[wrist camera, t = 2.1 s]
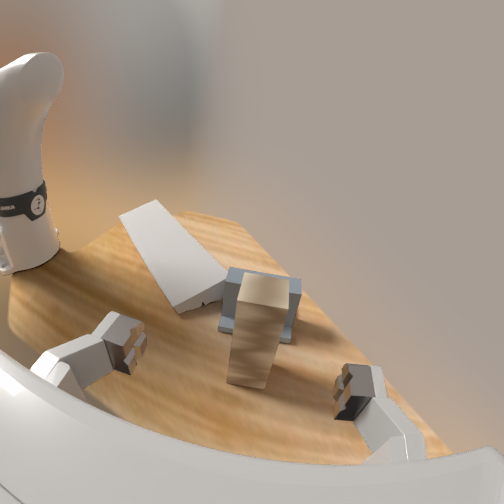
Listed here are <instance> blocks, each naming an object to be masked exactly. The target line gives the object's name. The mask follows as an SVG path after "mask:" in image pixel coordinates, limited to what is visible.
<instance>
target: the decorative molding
mask: <svg viewBox="0 0 504 504" xmlns="http://www.w3.org/2000/svg"><path fill="white" fill-rule="evenodd" d="M119 218H120V219H121V221H122V223H123V225H124V227H125V229H126V231H127V232H128V234H129V236H130V238H131V239H132V241H133V243H134V245H135V247H136V248H137V250H138V252H139V253H140V255H141V257H142V259H143V260H144V262H145V264H146V265H147V267H148V269H149V270H150V272H151V274H152V275H153V277H154V278H155V280H156V282H157V283H158V285H159V286H160V288H161V290H162V291H163V293H164V294H165V296H166V297H167V299H168V301H169V302H170V304H171V305H172V307H173V308H174V309H175V310H176V312H177V313H178V314H180V313H183V312H185V311H187V310H188V311H190V310H193V309H196V308H199V307H201V306H202V302H204V304H205V305H207V304H208V303H210V302H213V301H220V300H223V295H224V285H225V279H226V276H227V274H228V271H227V270H226V269H225V268H224V267H223V266H222V265H221V264H220V263H219V262H218V261H216V260H215V259H214V258H213V257H212V256H211V255H210V254H209V253H208V252H207V251H206V250H205V249H204V248H203V247H202V246H201V245H200V244H199V243H198V242H197V241H196V240H195V239H194V238H193V237H192V236H191V235H190V234H189V233H188V232H187V231H186V230H185V229H184V228H183V227H182V225H181V224H180V223H179V222H178V221H177V220H176V219H175V218H174V217H173V216H172V215H171V214H170V213H168V211H167V210H166V209H165V208H164V207H163V206H162V205H161V204H160V203H159V202H158V201H157V200H154V201H152V202H149V203H147V204H145V205H142V206H140V207H138V208H136V209H134V210H131V211H129V212H127V213H125V214H122V215H120V216H119Z"/></svg>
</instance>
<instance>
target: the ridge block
mask: <svg viewBox="0 0 504 504" xmlns="http://www.w3.org/2000/svg"><path fill="white" fill-rule="evenodd" d="M244 272H247V273H253V274H258V275H264V276H270V277H275V278H281V279H287V280H289V307H288V313H287V316H286V320H285V323H284V327H283V330H282V334H281V337H280V340H279V342H283V343H289V344H290V341H291V332H292V325H293V321H294V318H295V315H296V312H297V308H298V305H299V302H300V298H301V295H302V293H301V279H295V278H290V277H284V276H279V275H273V274H267V273H261V272H256V271H250V270H245V269H239V268H233V267H230V268H229V271H228V274H227V276H226V279H225V285H224V295H223V306H222V316H221V319H220V322H219V326H218V331H220V332H225V333H231V334H233V328H234V320H235V312H236V304H237V298H238V295H239V291H240V287H241V283H242V280H243V276H244Z"/></svg>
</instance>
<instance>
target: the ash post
mask: <svg viewBox="0 0 504 504" xmlns="http://www.w3.org/2000/svg"><path fill="white" fill-rule="evenodd" d="M288 307H289V280H287V279H281V278H275V277H270V276H264V275H258V274H253V273H247V272H244V276H243V280H242V283H241V287H240V291H239V295H238V298H237V304H236V312H235V320H234V328H233V336H232V343H231V351H230V359H229V368H228V376H227V383H229V384H235V385H240V386H246V387H252V388H258V389H265V386H266V383H267V380H268V377H269V374H270V370H271V367H272V364H273V361H274V357H275V354H276V351H277V347H278V344H279V340H280V337H281V334H282V330H283V327H284V323H285V320H286V316H287V313H288Z"/></svg>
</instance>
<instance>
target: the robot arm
mask: <svg viewBox="0 0 504 504" xmlns="http://www.w3.org/2000/svg"><path fill="white" fill-rule="evenodd" d="M63 80H64V69H63V66H62V63H61V61H60V60H59V58H58V57H56V56H55V55H54V54H52V53H48V52H40V53H32V54H28V55H25V56H23V57H21V58H19V59H17V60H15V61H14V62H12V63H10V64H8V65H7V66H5V67H3V68H1V69H0V273H1V274H2V275H4V276H5V275H9V274H11V273H14V272H16V271H21V270H26V269H30V268H34V267H36V266H39V265H41V264H43V263H45V262H46V261H48V260H49V259H51V258H52V257H53V256H54V255H55V254H56V253H57V251H58V250H59V248H60V241H59V239H58V229H56V228H55V226H54V223H53V219H52V215H51V211H50V207H49V204H48V202H47V201H46V200H47V193H46V191H47V189H46V186H45V181H44V180H43V175H42V161H41V141H42V133H43V128H44V123H45V120H46V116H47V113H48V110H49V108H50V105H51V104H52V102H53V101H54V99H55V98H56V97H57V95H58V94H59V92H60V90H61V87H62V84H63ZM144 329H145V326H144V322H142V321H140V320H137V319H134V318H131V317H128V316H125V315H122V314H119V313H116V312H113V311H111V312H109V313H108V314H107V315H106V317H105V318H104V319H103V320H102V322H101V323H100V324H99V325H98V326H97V328H96V329H95V330H94V331H93V333H92V334H91V335H90V334H86V335H84V336H82V337H79V338H77V339H74V340H72V341H69V342H67V343H64V344H62V345H59V346H57V347H54V348H52V349H49V350H47V351H45V352H44V353H43V354H42V355H41V357H40V358H39V359H38V360H37V362H36V363H35V364H34V365H33V366H32V368H31V369H30V370H29V369H27V368H26V367H24V366H23V365H21V364H20V363H18V362H17V361H16V360H14V359H13V358H11V357H10V356H9V355H7V354H6V353H5V352H3V351H2V350H1V349H0V504H504V455H503V454H501V453H500V452H499V451H498V450H497V449H496V448H494V447H492V446H485V447H481V448H478V449H474V450H470V451H466V452H463V453H457V454H453V455H448V456H443V457H437V458H431V459H427V453H426V447H425V442H424V436H423V433H422V432H421V431H420V430H419V429H418V428H417V427H416V425H415V424H414V423H413V422H412V421H411V420H410V419H409V418H408V417H407V415H406V414H405V413H404V412H403V411H402V410H401V409H400V408H399V407H398V405H397V404H396V403H395V402H394V401H393V400H392V399H391V398H388V396H387V391H386V386H385V381H384V376H383V372H382V368H381V367H380V366H368V365H359V364H348V363H346V364H345V365H344V366H343V368H342V374H341V375H339V376H338V377H337V379H336V381H335V384H334V389H333V398H334V399H335V400H336V401H337V402H336V403H335V405H334V420H344V421H353V423H354V425H355V426H356V428H357V429H358V431H359V433H360V434H361V436H362V437H363V439H364V441H365V442H366V444H367V445H368V447H369V449H370V450H371V452H372V453H373V454H372V455H370V456H369V457H368V458H367V459H365V460H364V461H363V462H362V465H326V464H308V463H296V462H286V461H278V460H270V459H263V458H257V457H251V456H245V455H240V454H235V453H230V452H225V451H221V450H216V449H212V448H208V447H204V446H200V445H196V444H193V443H189V442H186V441H182V440H179V439H175V438H172V437H169V436H166V435H163V434H160V433H157V432H154V431H151V430H149V429H146V428H143V427H140V426H138V425H135V424H133V423H130V422H128V421H125V420H123V419H120V418H118V417H116V416H113V415H111V414H109V413H107V412H104V411H102V410H100V409H98V408H96V407H94V406H92V405H90V404H88V403H86V402H87V399H86V397H85V395H84V393H83V391H82V389H84V388H85V387H87V386H89V385H90V384H92V383H93V382H95V381H97V380H98V379H100V378H102V377H103V376H105V375H107V374H108V373H110V372H112V371H113V369H114V370H117V371H120V372H123V373H125V374H128V375H131V374H132V373H133V371H134V369H135V367H136V366H137V360H136V359H138V358H140V357H142V355H143V354H144V352H145V349H146V345H147V338H146V335H145V334H144V333H143V331H144Z"/></svg>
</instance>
